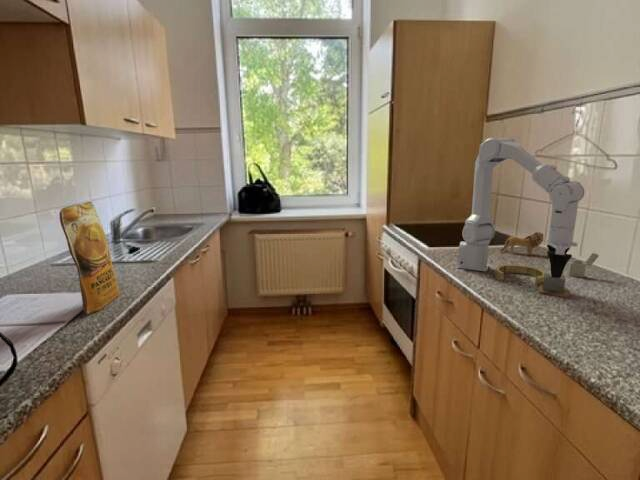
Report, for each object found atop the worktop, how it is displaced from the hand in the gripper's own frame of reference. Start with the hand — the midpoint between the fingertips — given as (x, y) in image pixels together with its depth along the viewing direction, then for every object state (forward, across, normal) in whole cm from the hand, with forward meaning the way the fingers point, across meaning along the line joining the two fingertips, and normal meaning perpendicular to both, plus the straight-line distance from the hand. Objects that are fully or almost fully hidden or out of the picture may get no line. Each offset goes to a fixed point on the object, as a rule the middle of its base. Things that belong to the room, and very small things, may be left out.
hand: (555, 273), depth 104 cm
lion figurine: (+6, +42, +10) cm, 44 cm away
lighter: (+6, +20, -8) cm, 22 cm away
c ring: (+6, +10, +9) cm, 15 cm away
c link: (+5, 0, 0) cm, 5 cm away
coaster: (+6, 0, 0) cm, 6 cm away
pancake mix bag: (+6, -69, +109) cm, 129 cm away
